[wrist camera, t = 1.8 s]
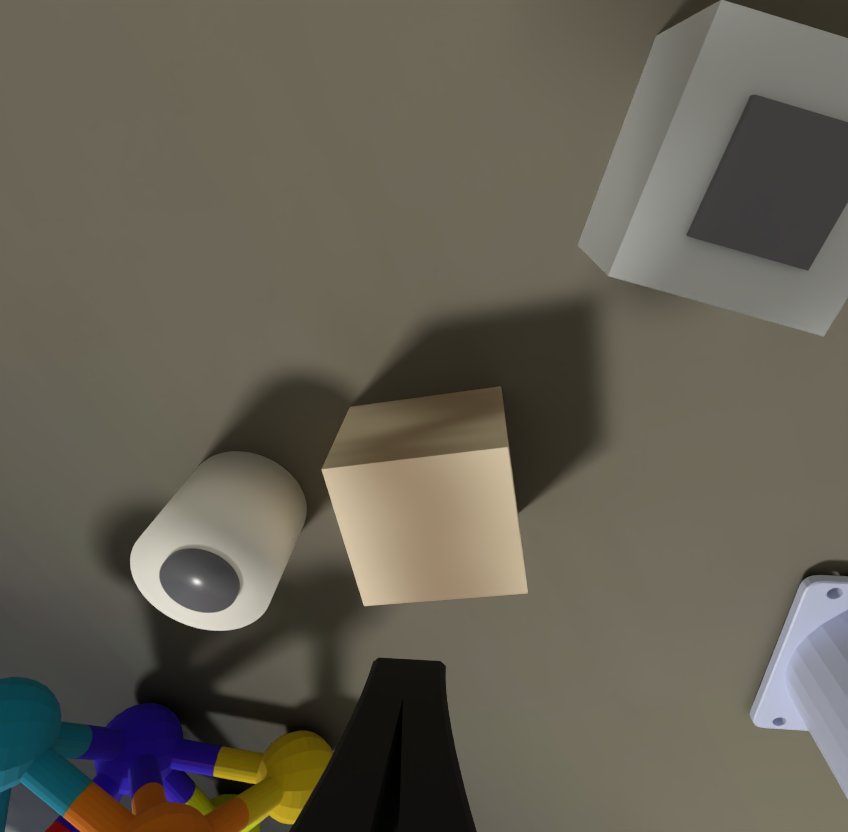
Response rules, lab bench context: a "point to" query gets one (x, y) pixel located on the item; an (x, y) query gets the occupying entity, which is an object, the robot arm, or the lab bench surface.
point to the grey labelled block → (733, 170)
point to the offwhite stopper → (221, 542)
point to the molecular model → (145, 769)
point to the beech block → (428, 498)
